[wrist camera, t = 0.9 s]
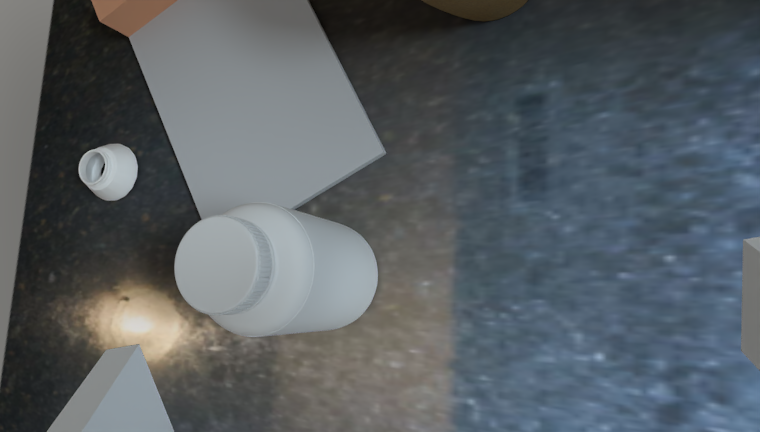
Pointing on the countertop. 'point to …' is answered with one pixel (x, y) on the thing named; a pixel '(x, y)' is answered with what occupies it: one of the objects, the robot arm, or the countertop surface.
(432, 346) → the countertop surface
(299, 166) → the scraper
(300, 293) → the pill bottle
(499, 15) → the plant pot
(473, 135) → the countertop surface
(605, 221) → the countertop surface
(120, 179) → the lidless jar
